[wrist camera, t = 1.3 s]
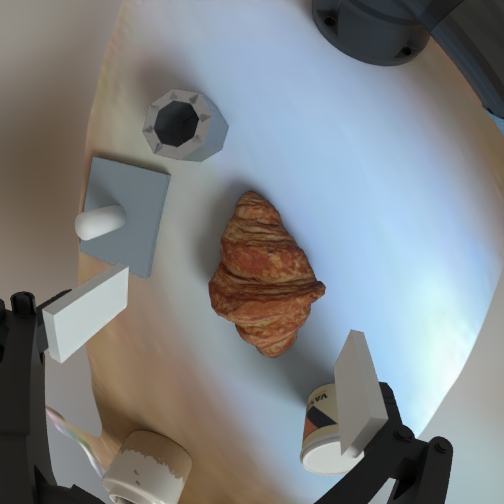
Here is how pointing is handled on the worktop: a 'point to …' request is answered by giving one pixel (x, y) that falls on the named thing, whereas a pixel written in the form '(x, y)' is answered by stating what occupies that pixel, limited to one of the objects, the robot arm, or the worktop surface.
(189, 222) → the worktop surface
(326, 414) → the coffee cup
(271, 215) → the pastry
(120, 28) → the worktop surface
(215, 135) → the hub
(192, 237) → the worktop surface
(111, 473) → the vase
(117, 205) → the shaft block
